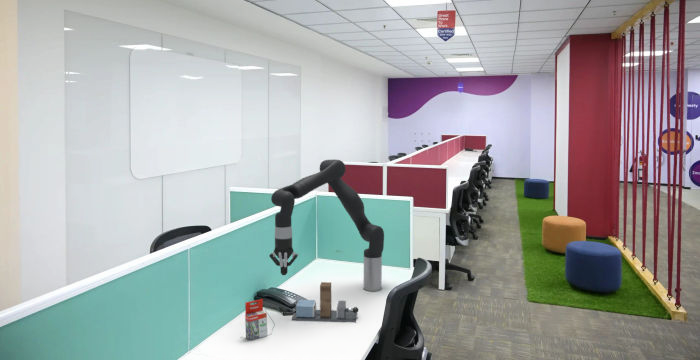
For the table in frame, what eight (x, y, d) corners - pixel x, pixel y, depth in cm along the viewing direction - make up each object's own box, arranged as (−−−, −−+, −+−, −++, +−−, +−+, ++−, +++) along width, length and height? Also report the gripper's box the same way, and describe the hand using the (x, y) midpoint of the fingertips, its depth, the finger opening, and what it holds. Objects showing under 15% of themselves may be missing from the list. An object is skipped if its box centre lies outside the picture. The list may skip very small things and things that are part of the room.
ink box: (267, 336, 202) (266, 301, 200) (249, 340, 197) (248, 305, 195) (263, 332, 205) (263, 298, 203) (245, 337, 200) (244, 302, 198)
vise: (295, 311, 227) (295, 298, 226) (359, 313, 225) (359, 300, 224) (291, 320, 217) (291, 307, 216) (357, 322, 215) (357, 308, 214)
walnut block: (321, 312, 223) (321, 282, 221) (331, 312, 223) (331, 282, 221) (320, 316, 219) (320, 285, 217) (330, 316, 218) (330, 285, 217)
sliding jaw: (299, 309, 226) (299, 299, 225) (316, 310, 225) (316, 300, 225) (296, 316, 218) (296, 306, 217) (313, 317, 217) (313, 306, 217)
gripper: (300, 234, 221) (300, 272, 223) (270, 233, 222) (271, 271, 224) (297, 238, 214) (297, 277, 216) (266, 238, 214) (267, 277, 217)
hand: (284, 274), depth 220 cm, fingers closed
